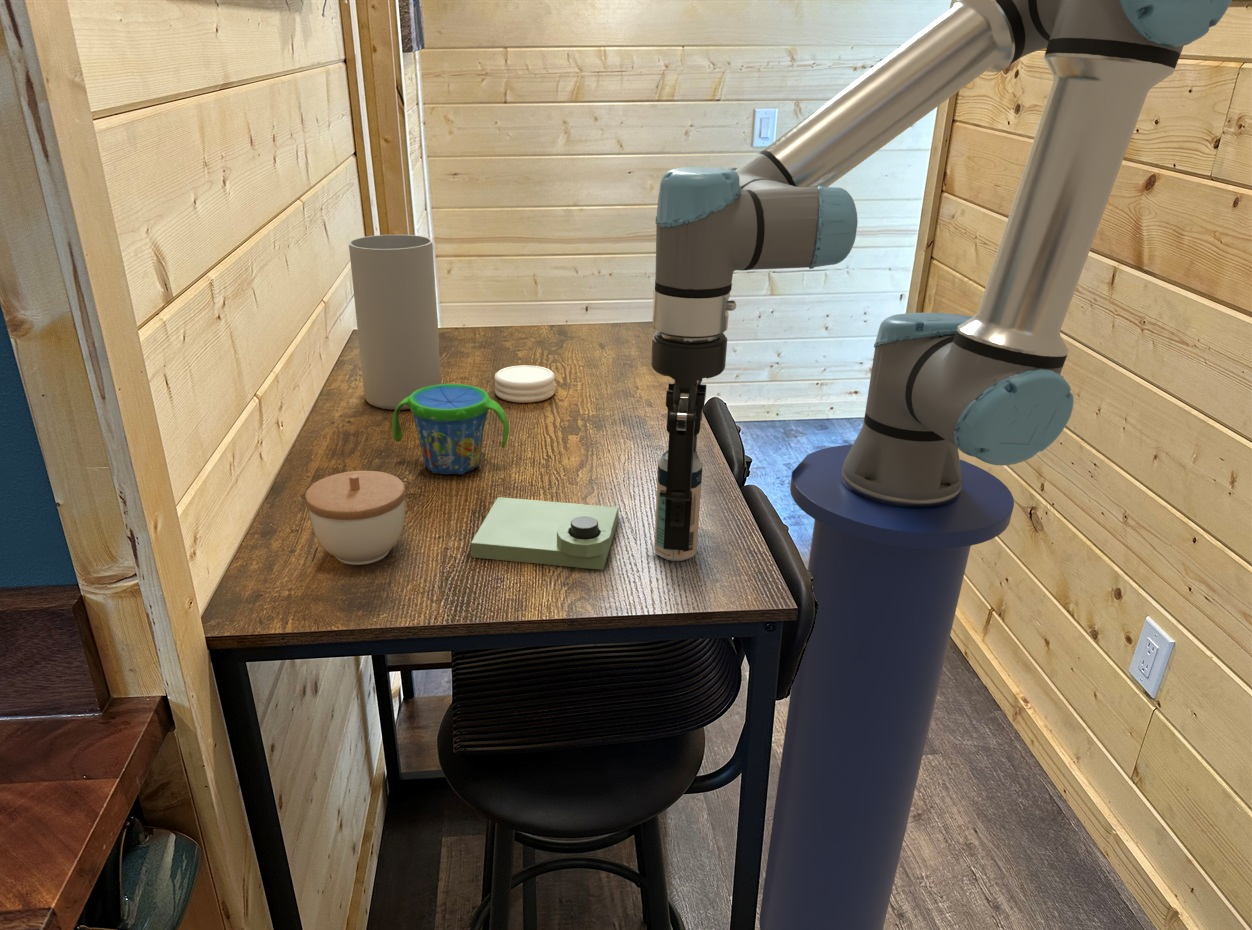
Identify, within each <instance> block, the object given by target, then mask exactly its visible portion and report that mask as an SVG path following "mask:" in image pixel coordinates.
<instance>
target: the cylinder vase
mask: <svg viewBox="0 0 1252 930" xmlns="http://www.w3.org/2000/svg"><path fill="white" fill-rule="evenodd" d="M348 249H349V251H348V252H349V260H350V270H351V279H352V289H353V297H354V298H353V299H354V309H355V317H356V326H357V327H356V329H357V336H358V347H359V357H360V366H361V376H362V384H363V386H362V388H363V396H364V399H365V401H366V402H367V403H368V404H369V405H371V406H372V407H376V408H378V409H383V410H391V411H393V410H394V411H395V409H396V408H397V406H398V405H399V403H400V402H401V401H402V400H404V399H405V398H406V397H408V396H410V395H411V394H412V393H413V392H414V391H416V390H418V389H421V388H424V387H427V386H432V385H439V384H442V369H441V355H440V340H439V339H440V338H439V324H438V323H439V322H438V307H437V292H436V291H437V290H436V276H435V261H434V244H433V239H432V238H430V237H428V236H423V235H417V234H378V235H377V234H376V235H368V236H362V237H358V238H353V239H351V240H350V241H348ZM405 410H411V409H410V407H409V406H408V405H403V406H402V407H401V409H400V411H405Z"/></svg>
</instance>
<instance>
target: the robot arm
mask: <svg viewBox="0 0 1252 930" xmlns="http://www.w3.org/2000/svg"><path fill="white" fill-rule="evenodd" d="M1232 1H1233V0H951V1H950V5H949V10H947V11H946V12H945V13H944V14H942V15H941V16H939V17H938V18H937V19H935V20H934V21H933V22H931V23H930V24H928V26H926V27H925V28H923V29H922V30H920V31H919V32H918V33H917V34H915V35H914V36H913V37H912V38H910V39H909V40H907V41H906V42H905V43H903V44H902V45H901V46H900V47H898V48H897V49H896V50H894V51H893V52H892V53H890V54H889V55H887V57H885V58H884V59H882V60H880V62H878V63H877V64H876V65H874V66H873V67H871V68H870V69H869V70H868V71H866V72H865V73H864V74H863V75H861V76H860V77H859V78H857V79H856V80H854V81H853V82H852V83H851V84H849V85H848V86H847V87H845V88H843V90H841V91H840V92H838V93H837V94H836V95H835V96H833V97H832V98H830V99H829V100H827V101H826V102H825V103H824V104H822V105H821V106H820V107H818V108H817V109H816V110H815V111H813V112H812V113H810V114H809V115H808V116H806V117H805V118H804V119H803V120H801V121H800V122H798V123H797V124H796V125H794V126H793V127H792V128H791V129H790V130H788V131H787V132H785V133H784V134H783V135H781V136H780V137H779V138H778V139H776V140H775V141H773V142H772V143H770V144H769V145H768V146H767V147H765V148H764V149H763V150H761V151H760V152H758V153H757V154H755V155H754V156H752V157H751V158H750V159H748V160H747V161H745V162H744V163H743V164H741V165H740V166H739V167H738V168H737V167H732V168H730V167H729V168H724V167H714V166H707V167H705V166H685V167H677V168H672V169H669V170H668V171H666V172H665V174H664V175H662V177H661V179H660V183H659V191H658V195H657V197H658V198H657V208H656V216H655V225H656V226H655V227H656V229H655V230H656V231H655V234H656V235H655V277H654V287H653V295H652V296H653V299H652V322H651V326H652V328H653V329H654V330H655V332H654V334H653V335H652V338H651V359H650V360H651V362H650V364H651V369H652V370H654V371H655V372H656V373H657V374H659V375H661V376H663V377H669V378H671V379H672V380H673V381H674V382H668V388H667V390H666V394H665V406H666V408H667V413H666V414H667V417H666V432H667V433H668V446H667V448H668V449H667V450H668V465H667V484H666V491H665V490H661V491H660V497H665V498H666V510H665V529H664V549H671V550H683V551H688V550H689V537H690V521H691V506H692V491H691V482H692V468H693V455H694V452H696V453H697V454H698V451H697V447H698V446H697V445H698V435H699V433H700V432H701V425H702V421H703V412H704V411H703V410H704V408H705V403H706V398H707V384H706V383H705V384H703V379H712V378H714V377H717V376H719V375H720V374H722V373H723V372H724V371H725V369H726V363H727V362H726V361H727V352H728V351H727V350H728V349H727V348H728V338H727V336H726V335H725V332H726V331H727V330H728V327H729V315H730V314H729V312H730V311H731V312H732V311H735V310H736V309H737V304H736V303H737V302H736V300H730V297H731V292H732V288H733V287H732V286H733V275H734V272H735V271H740V272H741V271H755V270H756V271H757V270H777V269H778V270H781V269H782V270H783V269H804V268H808V269H809V270H812V269H814V268H820V267H826V266H832V265H838V264H840V263H841V262H843V261H844V260H845V259H846V258H847V257H848V256H849V254H850V253H851V251H852V250H853V248H854V245H855V242H856V239H857V238H856V237H857V230H858V222H859V221H858V211H857V206H856V204H855V201H854V199H853V197H852V195H851V194H850V193H849V191H847V190H846V189H844V188H842V187H837V186H835V187H834V186H833V187H831V186H832V185H833V184H834V183H836V182H837V181H838V180H840V179H841V178H842V177H844V176H845V175H846V174H848V173H849V172H851V171H852V170H853V169H855V168H856V167H858V166H859V165H860V164H861V163H863V162H865V160H867V159H868V158H870V157H871V156H872V155H874V154H875V153H877V152H878V151H879V150H881V149H882V148H883V147H884V146H886V145H887V144H889V143H890V142H891V141H893V140H894V139H895V138H897V137H898V136H900V135H901V134H902V133H904V132H905V131H907V130H908V129H909V128H910V127H912V126H913V125H915V124H916V123H918V122H919V121H920V120H921V119H923V118H924V117H926V116H927V115H928V114H930V113H931V112H932V111H934V110H936V108H938V107H939V106H941V105H942V104H943V103H944V102H946V101H947V100H949V99H950V98H951V97H952V96H954V95H955V94H957V93H958V92H960V91H961V90H962V89H964V88H965V87H967V86H968V85H969V84H971V83H972V82H974V81H975V80H976V79H977V78H978V77H980V76H982V75H983V74H984V73H986V72H988V73H1000V72H1001V71H1005V70H1006V69H1008V67H1010V65H1013V64H1014V63H1015V62H1016V61H1018V60H1019V59H1021V58H1024V57H1025V56H1027V55H1030V54H1033V53H1035V52H1037V51H1040V50H1041V51H1042V50H1045V53H1044V56H1043V61H1044V63H1045V64H1046V66H1047V68H1048V69H1049V72H1050V73H1051V76H1052V83H1051V86H1050V88H1049V89H1050V90H1049V92H1048V96H1047V98H1046V101H1045V104H1044V108H1043V111H1042V113H1041V117H1040V120H1039V123H1038V126H1037V129H1036V133H1035V135H1034V138H1033V141H1032V145H1031V147H1030V150H1029V153H1028V157H1027V160H1026V162H1025V166H1024V169H1023V171H1022V175H1021V178H1020V181H1019V184H1018V187H1017V190H1016V193H1015V196H1014V199H1013V203H1012V205H1011V209H1010V211H1009V215H1008V217H1007V220H1006V224H1005V227H1004V229H1003V233H1002V236H1001V239H1000V242H999V246H998V248H997V251H996V255H995V258H994V260H993V263H992V266H991V270H990V272H989V275H988V278H987V282H986V285H985V288H984V291H983V294H982V297H981V300H980V303H979V306H978V308H977V312H976V313H975V315H974V316H971V315H965V314H959V313H949V312H948V313H947V312H908V313H907V312H906V313H898V314H893V315H890V316H888V317H886V318H884V319H883V320H882V322H880V324H879V328H878V331H877V336H876V339H875V342H874V344H873V348H874V352H873V357H872V358H873V359H872V364H871V372H870V378H869V384H868V385H869V386H868V390H867V391H868V392H867V399H866V403H865V404H866V405H865V412H864V417H863V424H862V426H861V429H860V431H859V432H858V435H857V436H856V438H855V440H854V441H853V443H852V444H853V445H852V447H851V449H850V451H849V453H848V455H847V457H846V459H845V461H844V464H843V467H842V474H841V480H842V482H843V484H844V485H845V486H846V487H847V488H848V489H849V490H850V491H852V492H853V493H855V494H856V495H858V496H860V497H862V498H865V499H867V500H870V501H873V502H876V503H880V504H884V505H888V506H893V507H900V508H910V509H927V508H936V507H941V506H945V505H948V504H950V503H952V502H954V501H955V500H957V498H958V497H959V495H960V491H961V486H962V473H961V466H960V460H961V459H960V453H959V451H960V452H961V453H962V454H965V455H967V456H969V457H973V458H976V459H978V460H979V461H981V462H984V463H985V464H990V465H993V466H1011V465H1017V464H1020V463H1023V462H1025V461H1028V460H1030V459H1032V458H1034V457H1035V456H1036V455H1037V454H1038V453H1040V452H1044V451H1045V450H1046V449H1047V448H1049V447H1050V446H1051V445H1052V444H1053V443H1054V442H1055V441H1056V440H1057V439H1058V438H1059V437H1060V435H1061V434H1062V433H1063V431H1064V429H1065V428H1066V426H1068V424H1069V421H1070V419H1071V417H1072V413H1073V408H1074V395H1073V393H1072V392H1071V391H1072V387H1071V385H1070V384H1069V382H1068V381H1067V380H1066V379H1065V377H1064V376H1063V375H1062V371H1063V368H1064V365H1065V362H1066V361H1067V358H1068V354H1069V348H1068V346H1067V344H1066V343H1065V341H1064V339H1063V338H1062V335H1061V330H1062V327H1063V324H1064V321H1065V319H1066V316H1067V313H1068V310H1069V308H1070V305H1071V303H1072V299H1073V297H1074V295H1075V292H1076V289H1077V287H1078V283H1079V280H1080V278H1081V275H1082V273H1083V270H1084V267H1085V265H1086V262H1087V259H1088V256H1089V253H1090V251H1091V248H1092V246H1093V243H1094V240H1095V238H1096V234H1097V232H1098V229H1099V226H1100V223H1101V221H1102V219H1103V216H1104V214H1105V210H1106V207H1107V205H1108V202H1109V199H1110V196H1111V195H1112V194H1111V193H1112V191H1113V188H1114V186H1115V183H1116V180H1117V177H1118V174H1119V172H1120V169H1121V166H1122V164H1123V161H1124V158H1125V155H1126V153H1127V150H1128V148H1129V145H1130V142H1131V140H1132V136H1133V134H1134V131H1135V129H1136V125H1137V123H1138V120H1139V118H1140V115H1141V112H1142V110H1143V106H1144V104H1145V101H1146V99H1147V96H1148V93H1149V91H1150V90H1152V89H1153V88H1154V87H1155V86H1157V85H1158V84H1160V83H1161V82H1162V81H1164V80H1166V79H1168V78H1169V77H1170V76H1172V75H1173V74H1174V72H1175V71H1176V68H1177V65H1178V62H1179V59H1180V57H1181V54H1182V51H1183V49H1184V46H1188V45H1190V44H1193V43H1194V42H1195V41H1197V40H1199V39H1202V38H1203V37H1204V36H1205V35H1207V33H1209V31H1210V29H1211V27H1215V26H1217V25H1218V23H1219V22H1220V21H1221V19H1222V18H1223V17H1224V16H1225V14H1226V13H1227V11H1228V9H1229V7H1230V5H1231V3H1232Z"/></svg>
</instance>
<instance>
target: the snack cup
mask: <svg viewBox="0 0 1252 930" xmlns="http://www.w3.org/2000/svg"><path fill="white" fill-rule="evenodd" d="M403 405H408V406H409V407H410V409H409V410H410V411H411V413H412V415H413V416H412V417H413V420H414V425H415V430H416V432H417V433H416V434H417V438H418V442H419V447H420V452H421V455H422V460H423V462H424V465H425V467H426V468H427V469H428V470H429V471H431V472H432V473H433V474H436V475H437V474H439V475H452V474H454V475H460V476H462V475H464V474H465V473H468V472H472V470H474V469H476V468H477V467H479V465H480V461H481V456H482V448H483V440H484V433H485V426H486V422H487V417H488V414H489V410H491V411H493V412H494V413H495V415H496V416H497V418H498V419H499V421H500V423H501V424H502V425H503V433H502V443H501V448H503V449H505V446H506V444H507V443H508V442H507V441H508V438H509V433H510V427H509V426H510V425H509V421H508V417H507V414H506V412H505V410H504V409H503V407H502V406H501V405H500V404H499V403H498V402H497V401H495V400H494V399H492V398H491V397H490V396H489V393H488V392H487V391H486V390H485V389H483V388H481V387H478V386H474V385H469V384H465V383H463V384H462V383H441V384H439V385H432V386H427V387H424V388H421V389H418V390H416V391H414V392H413V393H412V394H411V395H410V396H408V397H406V398H405V399H404V400H402V401H401V402H400V403H399V405H398V406H397V408H396V409H395V410H394V412H393V415H392V421H391V428H392V435H393V436H392V437H393V438H394V440H395V442H397V443H399V442H401V441H402V438H403V431H402V426H401V422H400V418H399V417H400V413H401V410H400V409H401V407H402V406H403Z"/></svg>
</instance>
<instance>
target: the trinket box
mask: <svg viewBox="0 0 1252 930" xmlns="http://www.w3.org/2000/svg"><path fill="white" fill-rule="evenodd" d="M304 500H305V506H306V508H307V512H308V517H309V522H310V527H311V529H312V532H313V534H314V536H315V538H316V540H317V542H318V543H319V545H320V546H321V547H322V548H323V549H324V550H325V551H326V552H327V553H328V554H330V555H332V556H333V557H335V559H336V560H337V561H338V562H340V563H343V564H346V565H351V566H352V565H353V566H362V565H369V564H373V563H376V562H378V561H381V560H382V559H384V558H385V557H387V555H388V554H389V553H390V551H391V550H392V549H393V547H395V545H396V544H397V543H398V541H399V540H400V537H402V533H403V530H404V527H405V522H406V487H405V484H404V482H403V481H402V479H400V478H399V477H397V476H396V475H393V474H390V473H388V472H384V471H376V470H353V471H344V472H340V473H335V474H331V475H328V476H325V477H323V478H321V479H319V480H317V481H316V482H314V483H313V484H311V485H310V486H309V487H308V489H307V490H306V492H305V495H304Z"/></svg>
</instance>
